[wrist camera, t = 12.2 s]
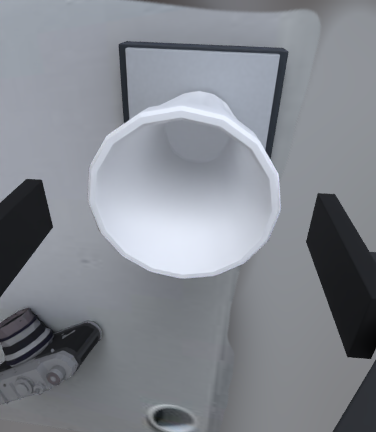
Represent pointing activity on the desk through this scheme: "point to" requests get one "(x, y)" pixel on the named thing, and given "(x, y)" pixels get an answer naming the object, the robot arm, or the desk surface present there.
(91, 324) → the camera
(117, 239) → the cup
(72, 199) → the desk surface
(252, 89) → the scale
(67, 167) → the desk surface
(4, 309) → the desk surface
